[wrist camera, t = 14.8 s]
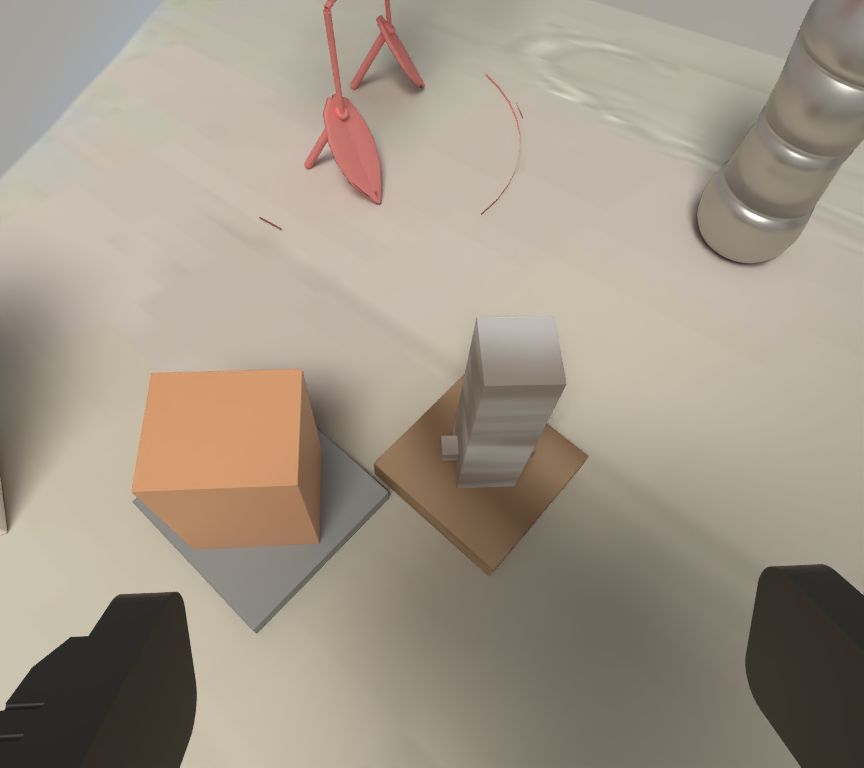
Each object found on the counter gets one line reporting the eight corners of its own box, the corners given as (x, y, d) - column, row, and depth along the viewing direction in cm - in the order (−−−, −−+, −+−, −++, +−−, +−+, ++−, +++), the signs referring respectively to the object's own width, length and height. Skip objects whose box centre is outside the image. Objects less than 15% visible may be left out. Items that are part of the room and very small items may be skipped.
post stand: (373, 381, 37) (366, 233, 26) (565, 376, 38) (636, 232, 27) (376, 581, 32) (369, 502, 21) (599, 571, 32) (706, 490, 22)
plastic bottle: (717, 286, 42) (954, -36, 24) (668, 210, 45) (848, -125, 27) (800, 265, 43) (1081, -56, 26) (746, 193, 46) (966, -138, 28)
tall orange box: (204, 453, 33) (151, 373, 26) (321, 449, 34) (301, 369, 26) (193, 549, 31) (131, 491, 23) (319, 543, 31) (297, 485, 24)
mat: (273, 394, 36) (270, 385, 35) (388, 498, 34) (388, 492, 33) (139, 507, 33) (132, 501, 32) (256, 633, 30) (252, 630, 29)
